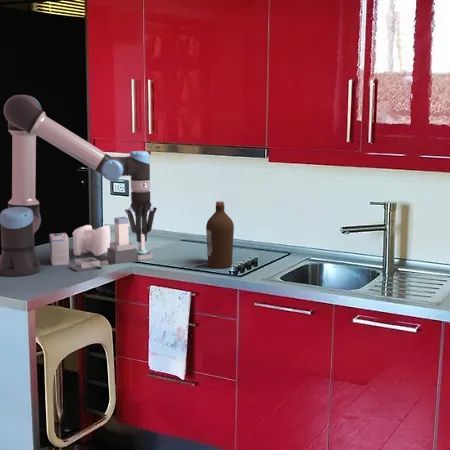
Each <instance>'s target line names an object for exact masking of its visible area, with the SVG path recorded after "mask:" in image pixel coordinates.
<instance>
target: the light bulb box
mask: <svg viewBox="0 0 450 450" xmlns="http://www.w3.org/2000/svg"><path fill="white" fill-rule="evenodd" d="M48 236H49V257H50V258H49V260H50V263H51V266H65V265H67V266H68V265H69V266H70V255H69V254H70V249H69V247H70V245H69V244H70V243H69V236H68V234H67V232H61V233H60V232H59V233H49V235H48Z"/></svg>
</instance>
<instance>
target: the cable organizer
mask: <svg viewBox="0 0 450 450" xmlns="http://www.w3.org/2000/svg"><path fill="white" fill-rule="evenodd" d="M72 239H73V240H72V242H73V243H72V244H73V255H74V256H75V257H78V256H82V255H84V254H85V255H86V254H89V253H90V252H91V254H93V255H94V257H99V256H101V255H103V254H105V253H106V252H107V253H108V251H107V248H110V243H111V227H110V225H107V224H106V225H102V226H101V227H98V228H96V229H94V228H93V226H92V225H91V224H85V225H83V226H79V227H78V228H76V229H74V230H73V232H72Z"/></svg>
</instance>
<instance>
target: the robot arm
mask: <svg viewBox="0 0 450 450" xmlns="http://www.w3.org/2000/svg"><path fill="white" fill-rule="evenodd" d="M42 109H43V108H42V106H41V104H40V102H39V101H38V100H37V99H36V98H35V97H33V96H31V95H27V94H17V95H12V96H11V97H9V98H8V99H7V100H6V102H5V104H4V105H3V114H4V118H5V119H6V121H8V122H7V128H8V129H7V131H8V132H9V134H11V137H12V139H11V140H12V145H11V146H12V148H11V149H12V151H11V153H12V155H11V156H12V157H11V158H12V159H11V160H12V163H11V164H12V166H11V168H12V169H11V170H12V171H11V174H12V177H11V178H12V179H11V180H12V181H11V182H12V184H11V187H12V188H11V194H12V195H11V199H9V201H8V202H7V208H5V209H3V210H2V211H1V212H0V235H1V236H0V240H1V241H0V242H1V255H0V275H1V276H6V277H20V276H21V277H23V276H30V275H34V274H37V273H40V272H41V264H40V263H41V262H40V260H39V258H38V256H37V252H36V250H35V249H36V248H35V233H36V232H37V231H39V229H40V227H41V222H42V217H41V213H40V202H39V200H38V199H36V177H37V175H36V173H37V172H36V170H37V169H36V165H37V164H36V162H37V161H36V159H37V155H36V154H37V151H36V149H37V146H36V145H37V142H36V141H37V136H38V137H39V138H41V139H43V140H45V141H46V142H48V143H49V144H51V145H53V146H55V147H56V148H58V149H59V150H60V151H62V152H63V153H65V154H68V155H69V156H71V157H72V158H74V159H76V160H77V161H79V162H80V163H82V164H83V165H85V166H87V167H89V168H90V169H92V170H94V171H95V172H97V174H99V175H100V176H101V177H103V178H104V179H105V180H108V181H113V182H114V181H117V180H118V179H120V178H121V177H130V190H131V192H130V201H131V203H130V207H128V208H127V209H125V210H124V212H125V213H126V215H127V218H128V224H129V226H130V230H131V232H132V233H133V234H136V235H135V236H136V242H137V243H138V250H141V251H143V250H145V249H146V242H147V240H148V239H147V238H148V237H147V236H148V234H149V233H151V231H152V228H153V223H154V219H155V213H156V212H157V209H158V208H157V207H154V206H153V205H152V202H151V191H150V190H151V162H150V161H151V160H150V153H149V152H148V151H145V150H136V151H135V150H134V151H130V154H129V156H111V155H109V154H107V153H106V152H104V151H103V150H101V149H100V148H98V147H96V146H94V145H93V144H92V143H90V142H88V141H87V140H85V139H83V138H81V136H79V135H77V134H76V133H74V132H72V131H70V130H69V129H68V128H66V127H64V126H63V125H61V124H59V123H58V122H56V121H55V120H53V119H51V118H50V117H48V116H47V115H46V112H45V111H44V110H42ZM133 213H134V214H133ZM134 216H135V218H134Z"/></svg>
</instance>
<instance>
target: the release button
mask: <svg viewBox="0 0 450 450" xmlns="http://www.w3.org/2000/svg"><path fill="white" fill-rule="evenodd" d="M147 252H148V249H146V248H145V250H143V251H141V250H139V249H137V255H144V254H147Z"/></svg>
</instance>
